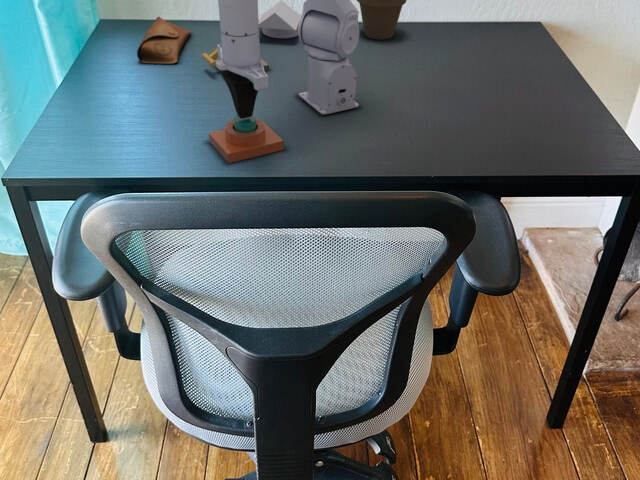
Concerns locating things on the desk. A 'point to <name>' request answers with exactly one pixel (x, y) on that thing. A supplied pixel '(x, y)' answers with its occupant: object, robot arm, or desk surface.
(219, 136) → the button block
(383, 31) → the flower pot
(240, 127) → the button
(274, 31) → the wedge on round base
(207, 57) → the tap lever
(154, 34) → the sunglasses case
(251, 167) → the desk surface
